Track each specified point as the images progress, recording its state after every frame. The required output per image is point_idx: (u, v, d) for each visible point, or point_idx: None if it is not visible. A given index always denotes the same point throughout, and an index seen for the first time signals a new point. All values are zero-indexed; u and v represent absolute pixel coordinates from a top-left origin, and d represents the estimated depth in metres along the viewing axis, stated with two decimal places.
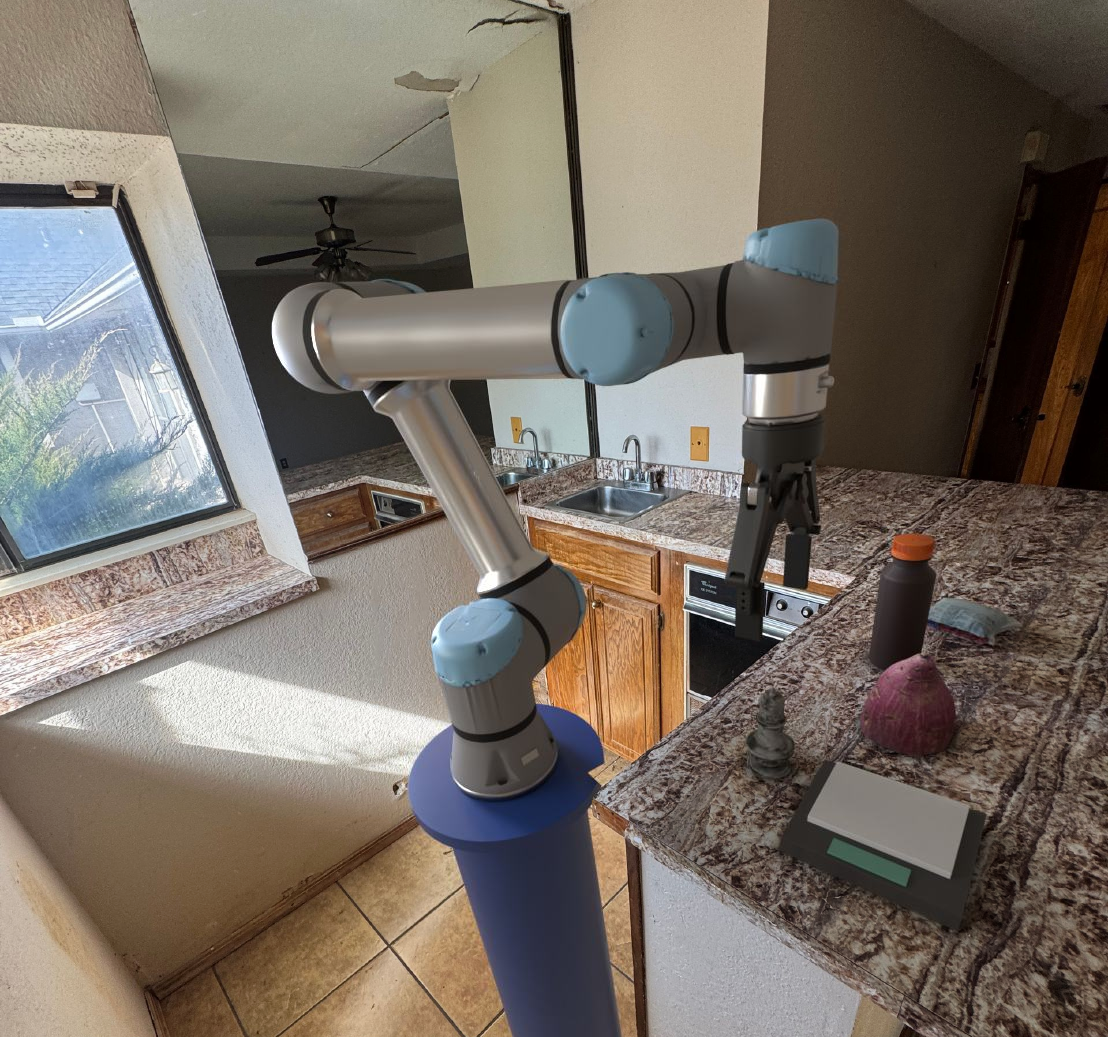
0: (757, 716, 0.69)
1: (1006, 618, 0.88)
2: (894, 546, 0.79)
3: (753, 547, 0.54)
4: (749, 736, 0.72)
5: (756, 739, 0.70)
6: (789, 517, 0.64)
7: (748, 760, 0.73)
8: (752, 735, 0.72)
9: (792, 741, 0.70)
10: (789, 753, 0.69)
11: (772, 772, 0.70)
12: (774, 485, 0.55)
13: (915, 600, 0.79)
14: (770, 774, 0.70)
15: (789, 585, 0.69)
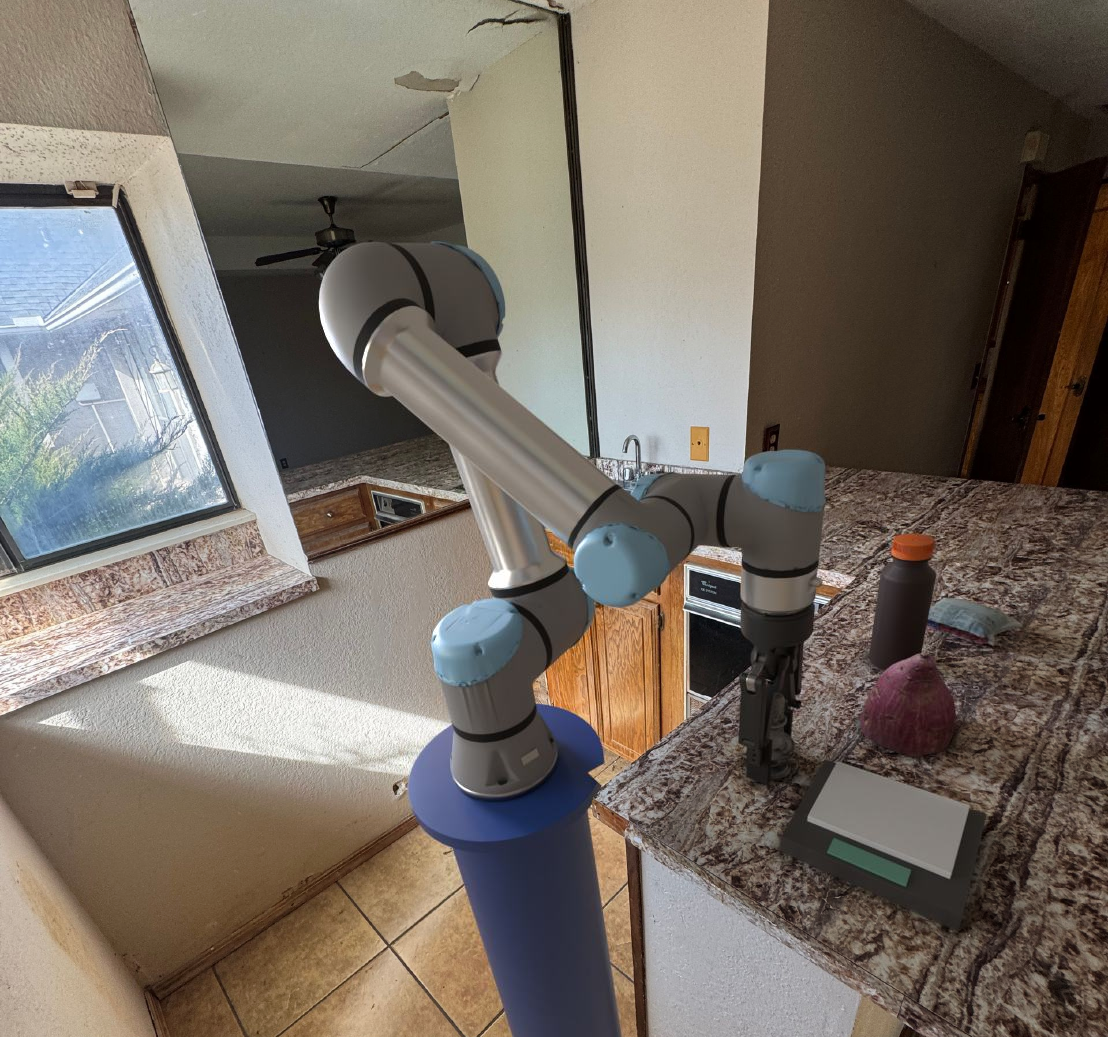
0: None
1: (1006, 618, 0.88)
2: (894, 546, 0.79)
3: (758, 724, 0.62)
4: None
5: None
6: None
7: None
8: None
9: (792, 741, 0.70)
10: (789, 753, 0.69)
11: (772, 772, 0.70)
12: (769, 666, 0.61)
13: (915, 600, 0.79)
14: (770, 774, 0.70)
15: None
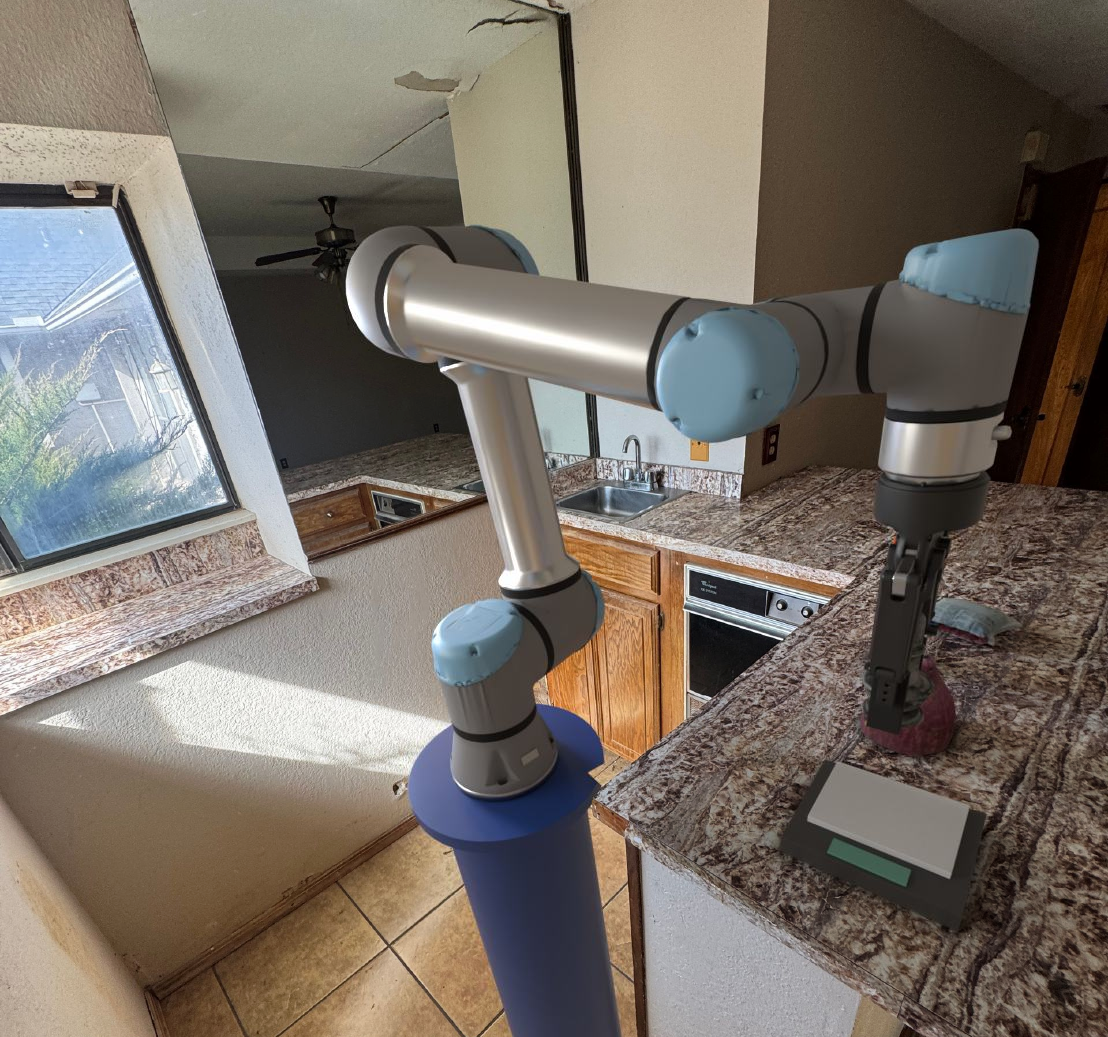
0: None
1: (1006, 618, 0.88)
2: None
3: (904, 643, 0.45)
4: (866, 674, 0.55)
5: None
6: None
7: (863, 706, 0.56)
8: None
9: (928, 678, 0.53)
10: (928, 692, 0.52)
11: (902, 719, 0.53)
12: (923, 562, 0.44)
13: None
14: None
15: None
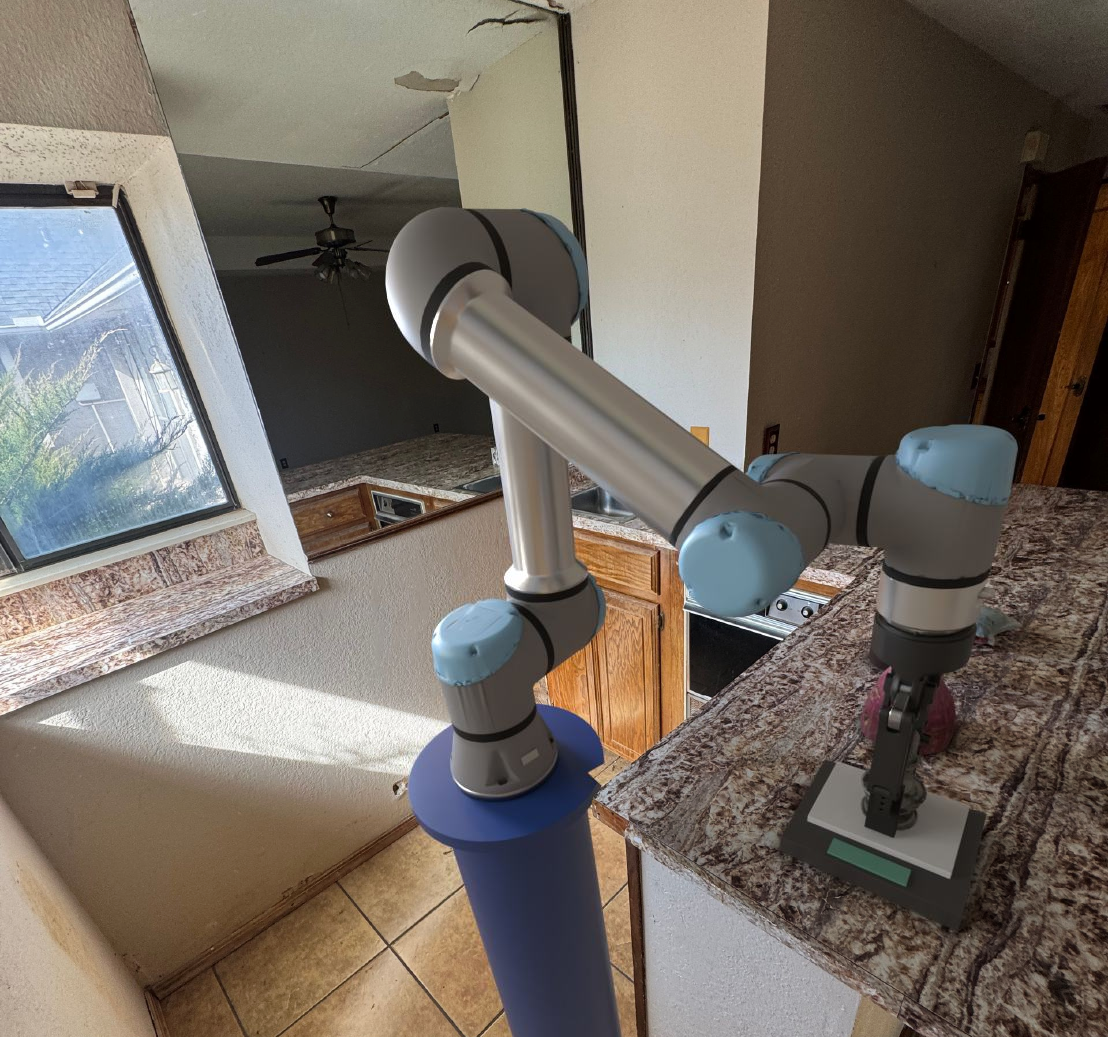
0: None
1: (1006, 618, 0.88)
2: None
3: (899, 769, 0.50)
4: None
5: None
6: None
7: (862, 804, 0.61)
8: None
9: (921, 784, 0.58)
10: (921, 800, 0.56)
11: None
12: (916, 698, 0.49)
13: None
14: None
15: None
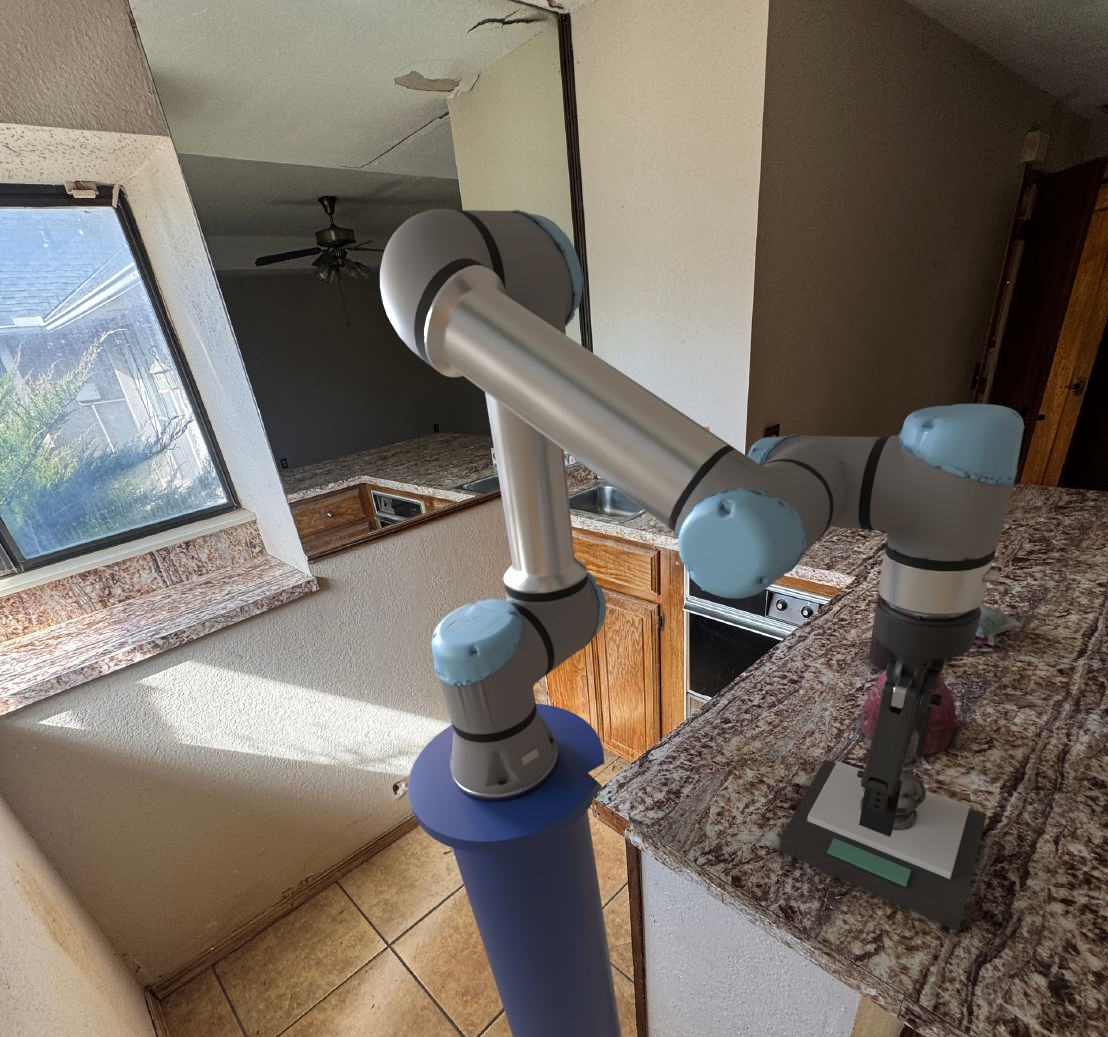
0: None
1: (1006, 618, 0.88)
2: None
3: (898, 756, 0.48)
4: None
5: None
6: None
7: (861, 804, 0.61)
8: None
9: (920, 783, 0.58)
10: (921, 799, 0.56)
11: (896, 821, 0.58)
12: (919, 681, 0.48)
13: None
14: None
15: None
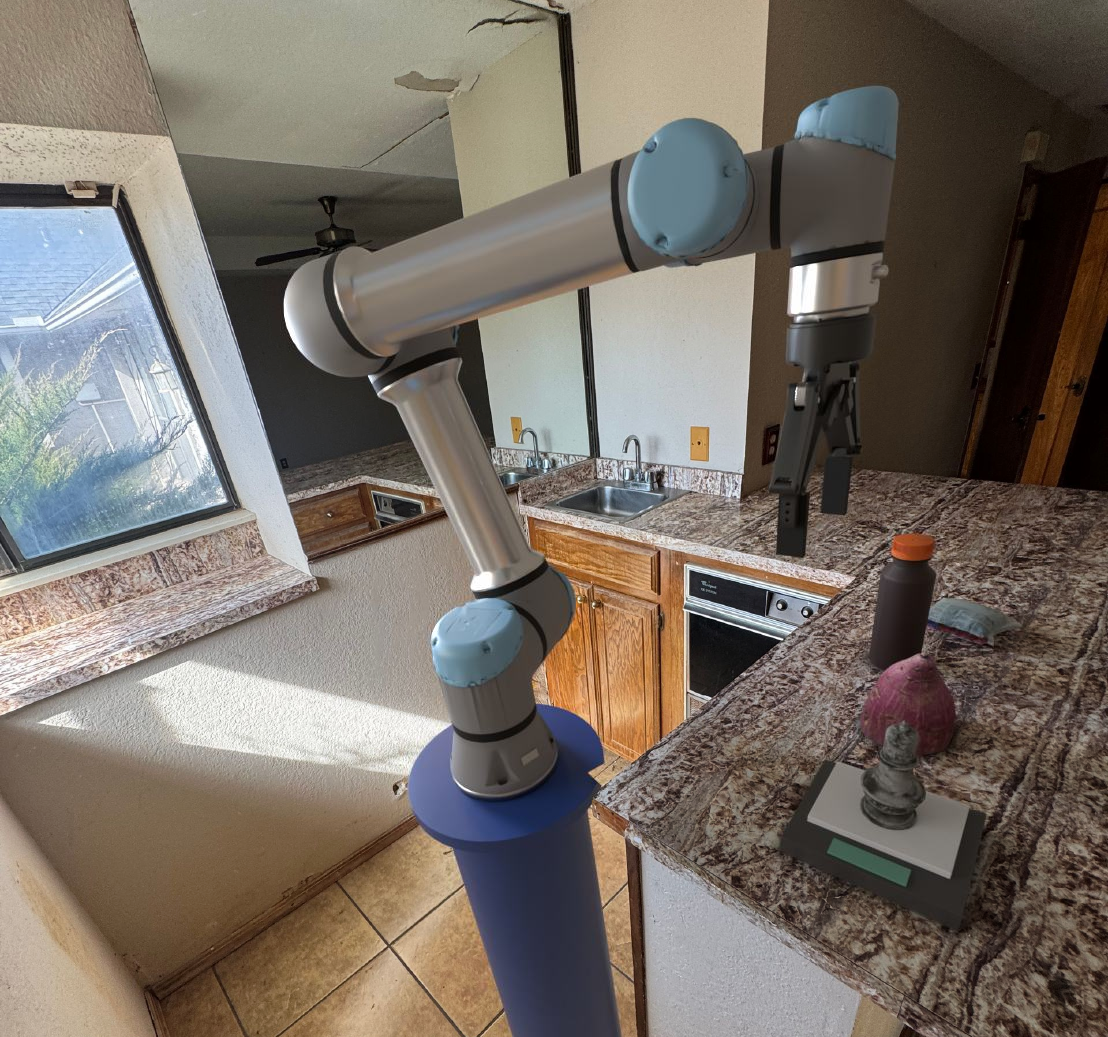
0: (880, 754, 0.57)
1: (1006, 618, 0.88)
2: (894, 546, 0.79)
3: (801, 450, 0.51)
4: (864, 776, 0.60)
5: (877, 781, 0.58)
6: (830, 435, 0.62)
7: (861, 804, 0.61)
8: (869, 775, 0.60)
9: (920, 783, 0.58)
10: (921, 799, 0.56)
11: (896, 821, 0.58)
12: (822, 386, 0.52)
13: (915, 600, 0.79)
14: (893, 823, 0.58)
15: (827, 512, 0.67)
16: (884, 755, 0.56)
